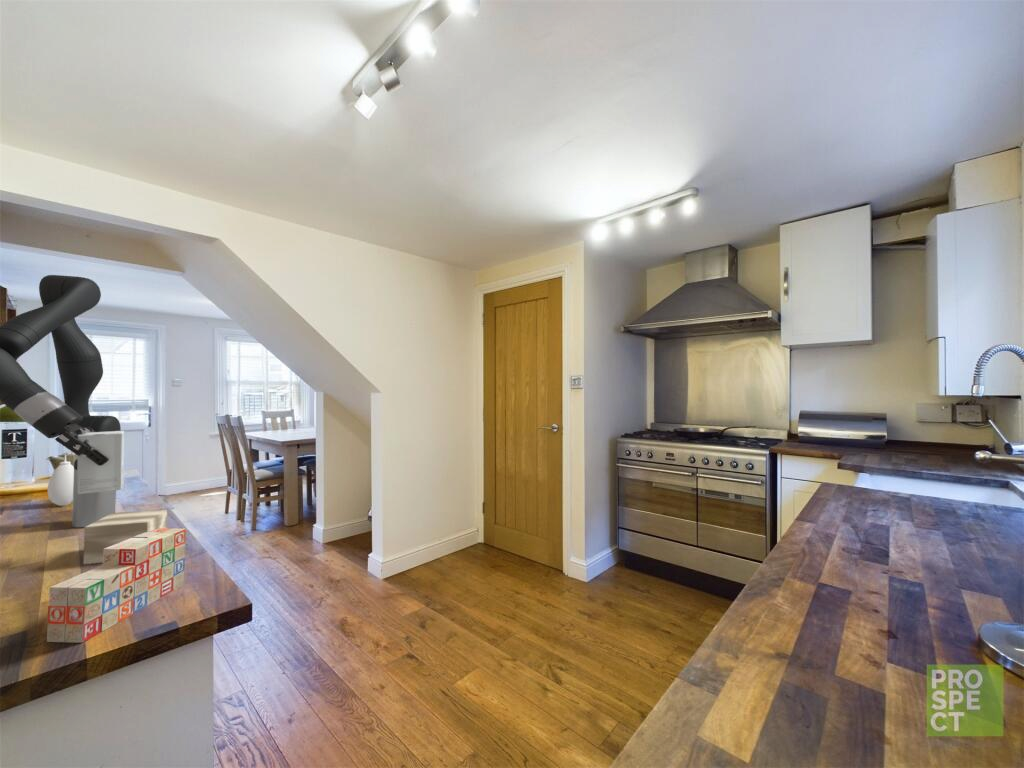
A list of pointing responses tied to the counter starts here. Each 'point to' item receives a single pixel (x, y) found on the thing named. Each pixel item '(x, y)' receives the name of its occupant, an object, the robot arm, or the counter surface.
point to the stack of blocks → (117, 585)
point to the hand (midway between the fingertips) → (110, 460)
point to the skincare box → (108, 473)
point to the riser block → (119, 530)
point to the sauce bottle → (62, 484)
